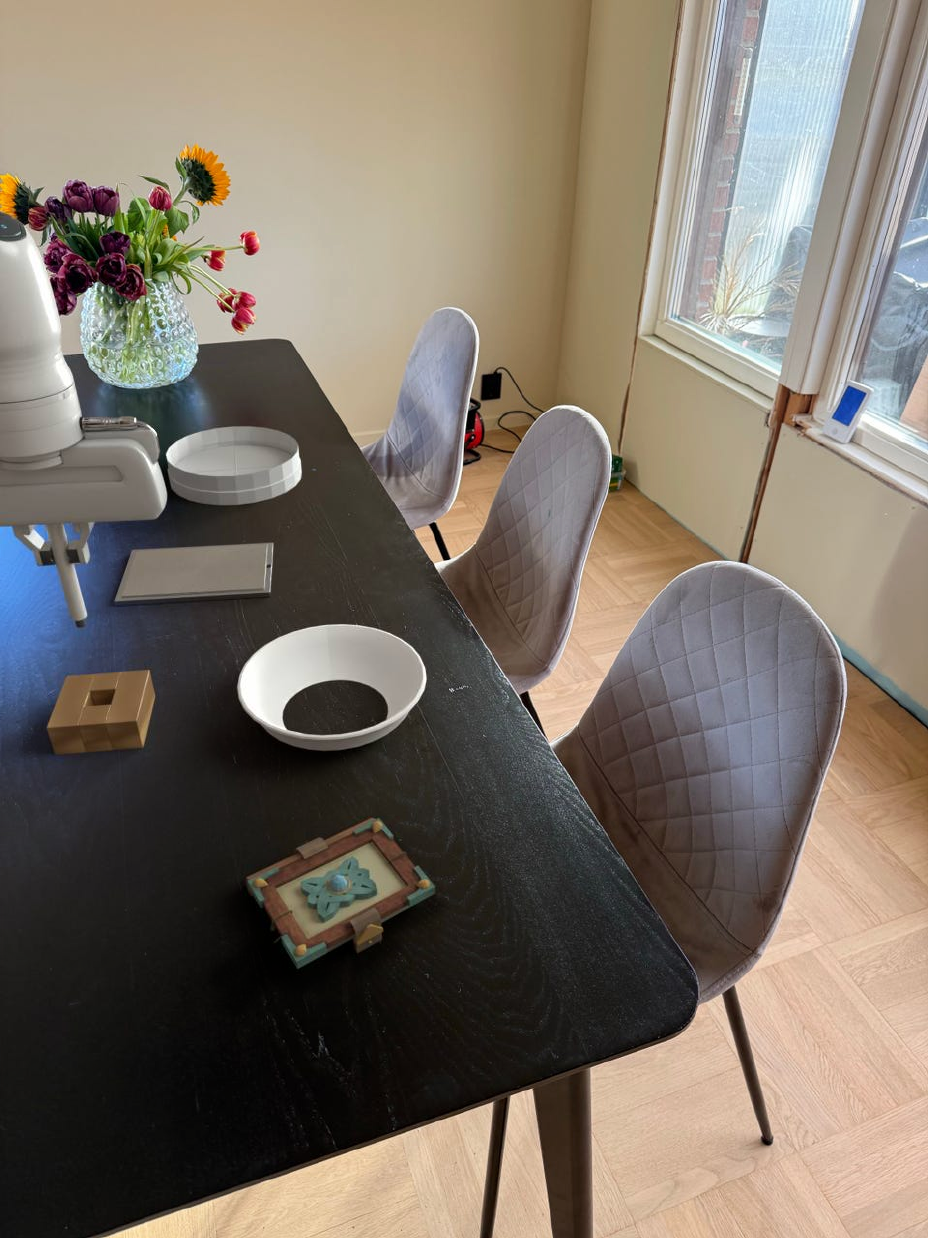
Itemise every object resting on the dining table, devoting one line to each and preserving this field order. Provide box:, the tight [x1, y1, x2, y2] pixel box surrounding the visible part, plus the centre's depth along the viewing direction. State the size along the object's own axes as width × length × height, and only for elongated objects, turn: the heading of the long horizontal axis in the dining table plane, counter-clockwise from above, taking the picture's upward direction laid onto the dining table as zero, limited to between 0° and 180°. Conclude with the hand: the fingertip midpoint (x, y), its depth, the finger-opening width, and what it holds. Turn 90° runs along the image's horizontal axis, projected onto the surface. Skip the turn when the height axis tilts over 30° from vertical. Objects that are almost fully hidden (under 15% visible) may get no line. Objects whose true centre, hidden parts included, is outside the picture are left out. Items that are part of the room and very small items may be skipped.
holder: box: [46, 669, 156, 756], centre depth 90 cm, size 9×9×5 cm
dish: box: [165, 425, 303, 506], centre depth 146 cm, size 22×22×5 cm
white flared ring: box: [236, 623, 427, 752], centre depth 92 cm, size 20×20×6 cm
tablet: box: [114, 542, 275, 607], centre depth 119 cm, size 20×14×1 cm
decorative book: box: [245, 817, 436, 970], centre depth 70 cm, size 13×18×5 cm
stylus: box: [44, 524, 88, 629], centre depth 80 cm, size 2×2×12 cm
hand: (64, 562), depth 80 cm, fingers closed on stylus, 1 cm apart
